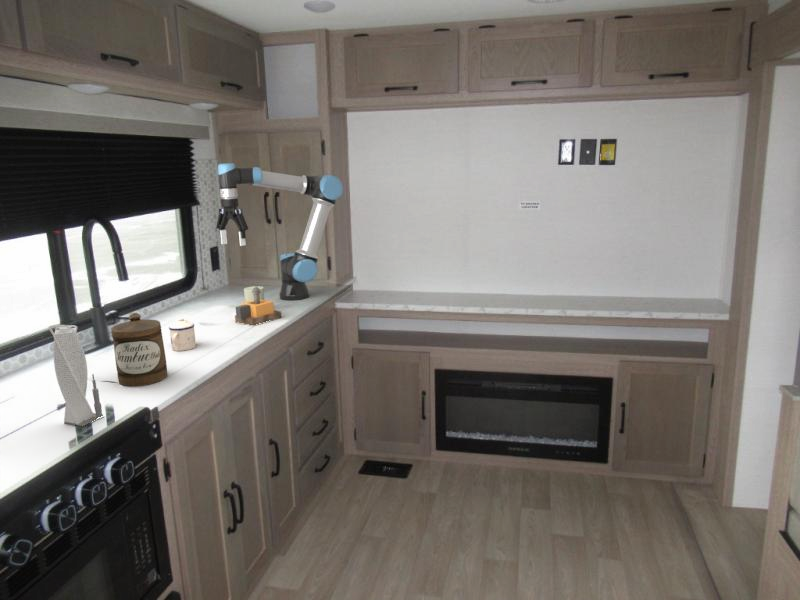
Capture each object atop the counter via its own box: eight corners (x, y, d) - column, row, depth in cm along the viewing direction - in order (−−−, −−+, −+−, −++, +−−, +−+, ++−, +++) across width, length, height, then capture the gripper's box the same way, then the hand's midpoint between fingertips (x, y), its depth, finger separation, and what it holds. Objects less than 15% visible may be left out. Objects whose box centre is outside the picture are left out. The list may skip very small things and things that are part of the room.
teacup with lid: (177, 344, 231) (174, 315, 228) (200, 344, 230) (197, 315, 227) (163, 354, 219) (160, 323, 216) (187, 353, 218) (184, 323, 216)
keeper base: (263, 314, 274) (261, 283, 270) (281, 317, 266) (278, 285, 263) (235, 322, 261) (232, 289, 258) (253, 326, 254) (250, 292, 251)
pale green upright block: (268, 309, 282) (266, 285, 280) (262, 314, 274) (259, 289, 271) (249, 309, 283) (247, 285, 281) (242, 314, 275) (240, 289, 272)
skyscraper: (78, 429, 157) (62, 327, 150) (56, 425, 160) (39, 324, 153) (104, 416, 164) (89, 318, 158) (83, 412, 167) (67, 316, 161)
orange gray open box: (259, 309, 270) (258, 299, 269) (274, 312, 264) (273, 301, 263) (231, 317, 258) (230, 306, 257) (246, 320, 252) (245, 308, 251)
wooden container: (115, 389, 185) (105, 321, 180) (122, 374, 199) (113, 310, 194) (165, 383, 189) (157, 316, 184) (169, 368, 203) (161, 306, 198)
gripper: (205, 198, 274) (210, 244, 278) (239, 199, 259) (244, 247, 264) (219, 197, 279) (223, 242, 284) (253, 197, 265) (257, 245, 269)
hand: (233, 244), depth 274 cm, fingers open, 13 cm apart
